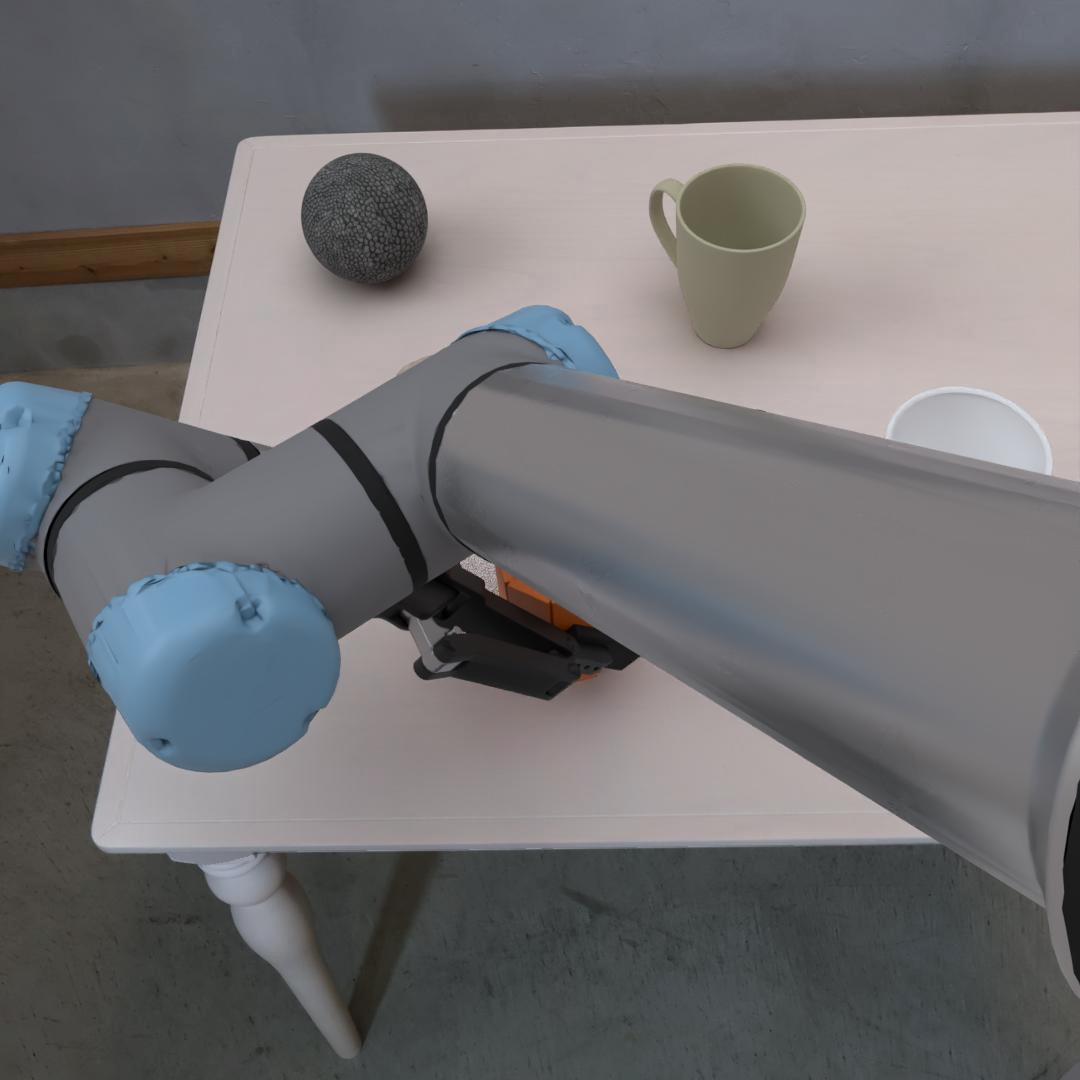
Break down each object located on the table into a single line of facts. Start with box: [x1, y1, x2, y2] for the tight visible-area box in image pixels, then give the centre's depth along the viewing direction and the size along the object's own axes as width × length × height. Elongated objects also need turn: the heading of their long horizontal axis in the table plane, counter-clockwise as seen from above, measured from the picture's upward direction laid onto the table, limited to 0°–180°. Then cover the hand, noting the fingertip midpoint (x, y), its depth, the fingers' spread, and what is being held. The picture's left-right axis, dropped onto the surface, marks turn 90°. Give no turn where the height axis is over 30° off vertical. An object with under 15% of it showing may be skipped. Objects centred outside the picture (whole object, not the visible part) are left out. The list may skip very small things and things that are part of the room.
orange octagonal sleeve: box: [494, 565, 603, 684], centre depth 68 cm, size 7×7×11 cm
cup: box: [884, 385, 1055, 476], centre depth 73 cm, size 10×10×11 cm
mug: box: [648, 163, 807, 349], centre depth 84 cm, size 11×10×12 cm
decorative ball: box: [300, 152, 429, 284], centre depth 90 cm, size 10×10×10 cm
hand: (613, 602), depth 71 cm, fingers closed on orange octagonal sleeve, 7 cm apart
